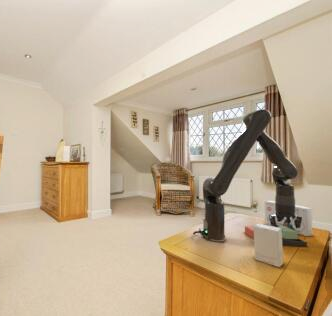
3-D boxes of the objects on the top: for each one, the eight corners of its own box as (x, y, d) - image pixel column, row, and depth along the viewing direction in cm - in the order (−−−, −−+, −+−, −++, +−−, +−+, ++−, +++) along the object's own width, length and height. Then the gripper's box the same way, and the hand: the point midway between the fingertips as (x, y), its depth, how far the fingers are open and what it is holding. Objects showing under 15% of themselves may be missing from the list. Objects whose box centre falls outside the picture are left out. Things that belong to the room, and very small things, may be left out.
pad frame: (280, 245, 98) (280, 240, 98) (255, 231, 116) (255, 227, 116) (306, 246, 96) (306, 242, 96) (278, 232, 114) (278, 228, 114)
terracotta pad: (252, 238, 106) (252, 230, 106) (244, 232, 114) (244, 226, 114) (264, 238, 106) (264, 231, 106) (255, 233, 113) (255, 226, 113)
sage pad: (285, 238, 99) (285, 230, 99) (274, 233, 106) (274, 225, 106) (297, 239, 98) (297, 231, 98) (285, 233, 105) (285, 226, 105)
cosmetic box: (283, 263, 80) (283, 228, 80) (279, 268, 77) (279, 231, 77) (258, 255, 87) (258, 222, 87) (253, 259, 84) (253, 225, 84)
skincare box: (264, 224, 128) (264, 200, 128) (269, 223, 130) (269, 200, 130) (307, 236, 108) (306, 208, 108) (313, 235, 110) (312, 207, 110)
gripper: (294, 202, 104) (294, 233, 104) (264, 201, 107) (264, 231, 107) (307, 205, 97) (307, 239, 97) (274, 204, 99) (275, 237, 99)
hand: (285, 235), depth 102 cm, fingers closed on sage pad, 5 cm apart
